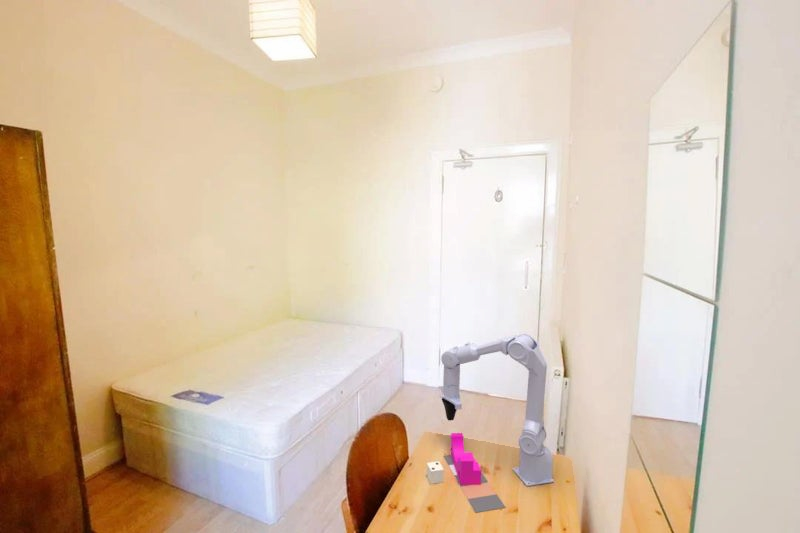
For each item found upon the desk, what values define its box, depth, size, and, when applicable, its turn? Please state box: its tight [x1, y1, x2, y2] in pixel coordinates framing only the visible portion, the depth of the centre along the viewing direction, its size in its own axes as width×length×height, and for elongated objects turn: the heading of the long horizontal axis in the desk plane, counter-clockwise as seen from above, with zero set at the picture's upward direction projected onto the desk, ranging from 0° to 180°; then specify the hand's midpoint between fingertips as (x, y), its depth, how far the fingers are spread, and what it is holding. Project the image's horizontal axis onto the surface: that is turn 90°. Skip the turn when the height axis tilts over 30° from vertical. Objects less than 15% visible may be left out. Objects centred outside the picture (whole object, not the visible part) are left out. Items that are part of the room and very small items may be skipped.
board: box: [443, 454, 506, 514], centre depth 106 cm, size 9×25×1 cm, turn 13°
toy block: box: [450, 432, 482, 486], centre depth 111 cm, size 15×6×8 cm, turn 3°
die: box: [426, 461, 445, 485], centre depth 106 cm, size 4×4×4 cm
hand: (450, 419), depth 123 cm, fingers closed
